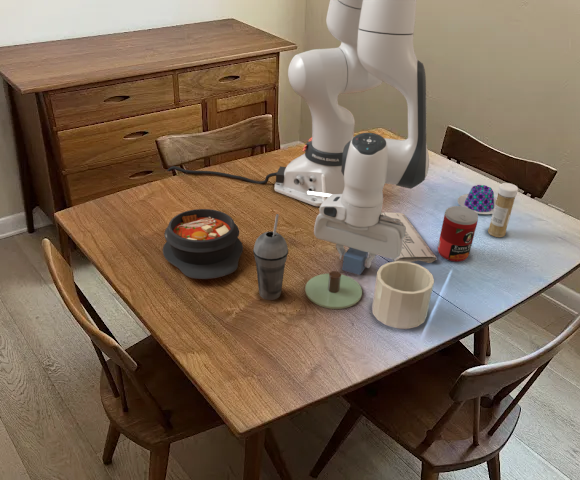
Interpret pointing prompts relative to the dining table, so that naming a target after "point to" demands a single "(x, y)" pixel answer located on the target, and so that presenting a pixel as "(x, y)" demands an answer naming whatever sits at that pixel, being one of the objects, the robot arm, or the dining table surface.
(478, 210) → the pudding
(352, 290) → the lid
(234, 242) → the casserole
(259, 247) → the beverage cup
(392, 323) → the jar
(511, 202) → the sprinkles bottle
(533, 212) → the dining table surface
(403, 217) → the newspaper
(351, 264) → the block
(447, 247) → the canned food
